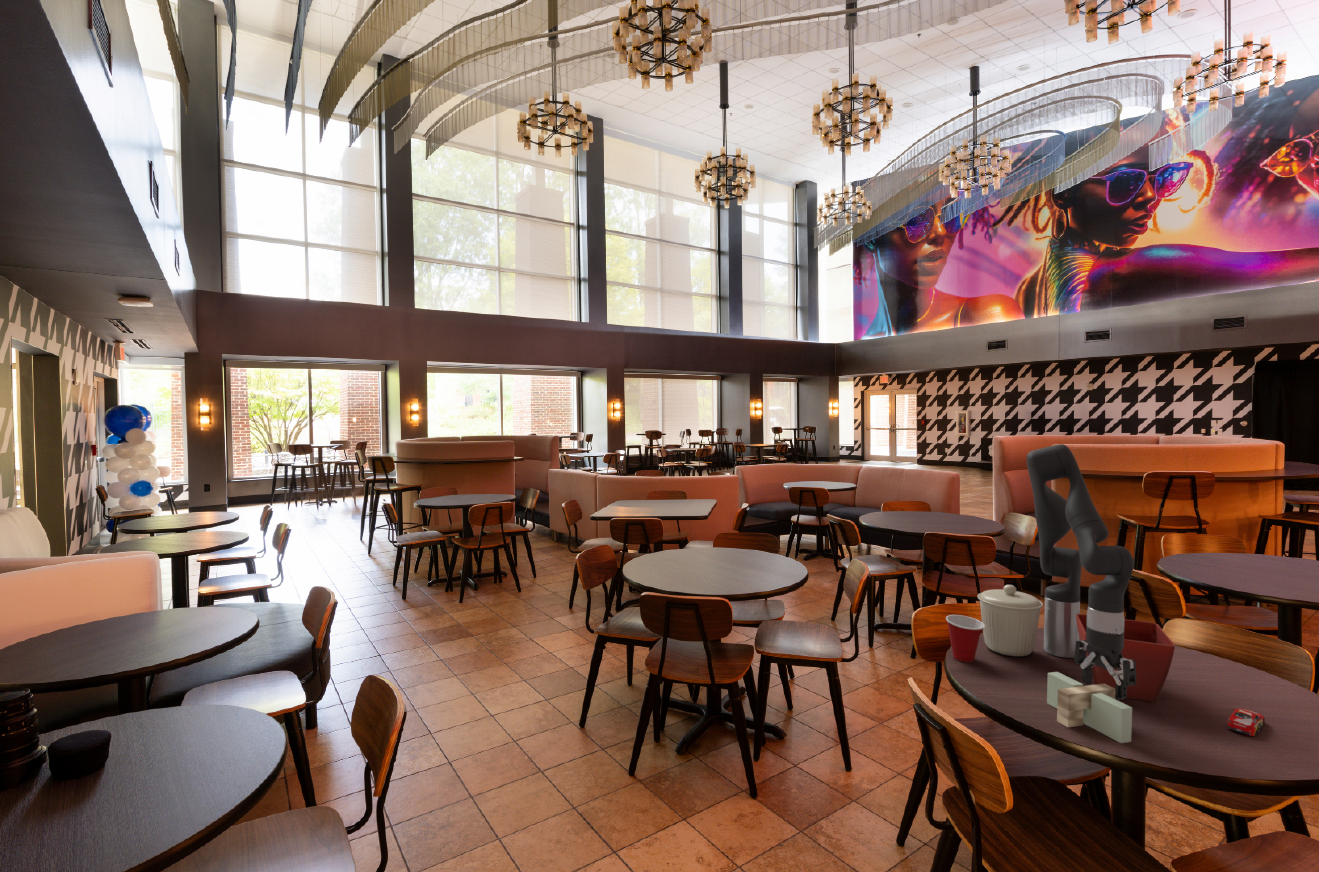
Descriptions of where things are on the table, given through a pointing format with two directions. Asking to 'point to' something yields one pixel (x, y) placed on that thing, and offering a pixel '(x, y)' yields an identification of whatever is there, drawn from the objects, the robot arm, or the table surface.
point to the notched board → (1096, 709)
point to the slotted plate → (1078, 702)
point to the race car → (1245, 722)
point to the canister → (1009, 620)
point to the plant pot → (1138, 657)
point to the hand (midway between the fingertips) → (1103, 691)
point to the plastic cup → (964, 636)
